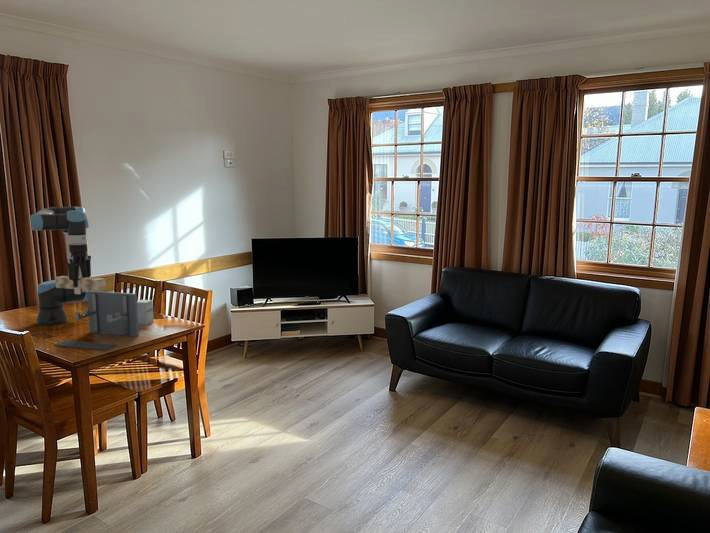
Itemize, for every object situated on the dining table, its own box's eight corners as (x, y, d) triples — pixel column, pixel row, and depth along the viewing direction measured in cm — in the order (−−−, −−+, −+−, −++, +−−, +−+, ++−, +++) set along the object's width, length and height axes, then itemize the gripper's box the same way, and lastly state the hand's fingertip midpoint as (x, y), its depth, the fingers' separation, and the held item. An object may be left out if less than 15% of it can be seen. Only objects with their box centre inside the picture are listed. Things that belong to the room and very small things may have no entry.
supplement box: (146, 325, 289) (145, 302, 287) (134, 324, 291) (133, 302, 289) (154, 321, 296) (153, 300, 294) (142, 320, 298) (141, 299, 296)
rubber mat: (53, 345, 251) (53, 344, 250) (66, 341, 258) (66, 339, 258) (104, 350, 245) (104, 349, 244) (116, 345, 252) (115, 344, 252)
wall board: (89, 332, 274) (87, 291, 271) (91, 331, 275) (89, 290, 272) (137, 336, 268) (134, 294, 264) (138, 335, 269) (136, 293, 266)
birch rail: (56, 287, 248) (55, 277, 247) (62, 286, 252) (61, 275, 251) (100, 290, 242) (99, 280, 242) (106, 288, 246) (105, 278, 246)
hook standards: (76, 340, 260) (73, 299, 256) (96, 332, 273) (93, 293, 270) (111, 343, 255) (109, 301, 252) (130, 335, 269) (127, 295, 265)
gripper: (71, 246, 235) (74, 297, 238) (97, 242, 251) (100, 289, 255) (56, 245, 236) (60, 296, 240) (84, 241, 253) (87, 289, 256)
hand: (81, 292), depth 247 cm, fingers closed on birch rail, 4 cm apart
